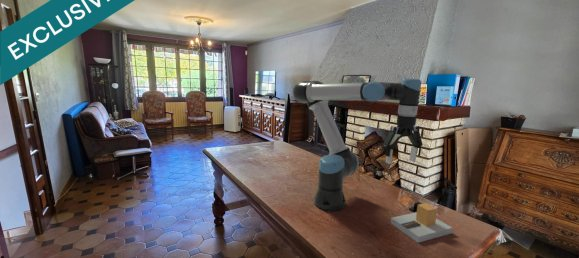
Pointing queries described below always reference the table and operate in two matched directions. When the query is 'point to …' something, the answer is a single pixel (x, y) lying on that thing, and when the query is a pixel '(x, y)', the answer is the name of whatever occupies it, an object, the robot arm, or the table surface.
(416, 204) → the black power adapter
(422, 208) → the cardboard-colored cube
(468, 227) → the table surface
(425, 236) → the junction plate
